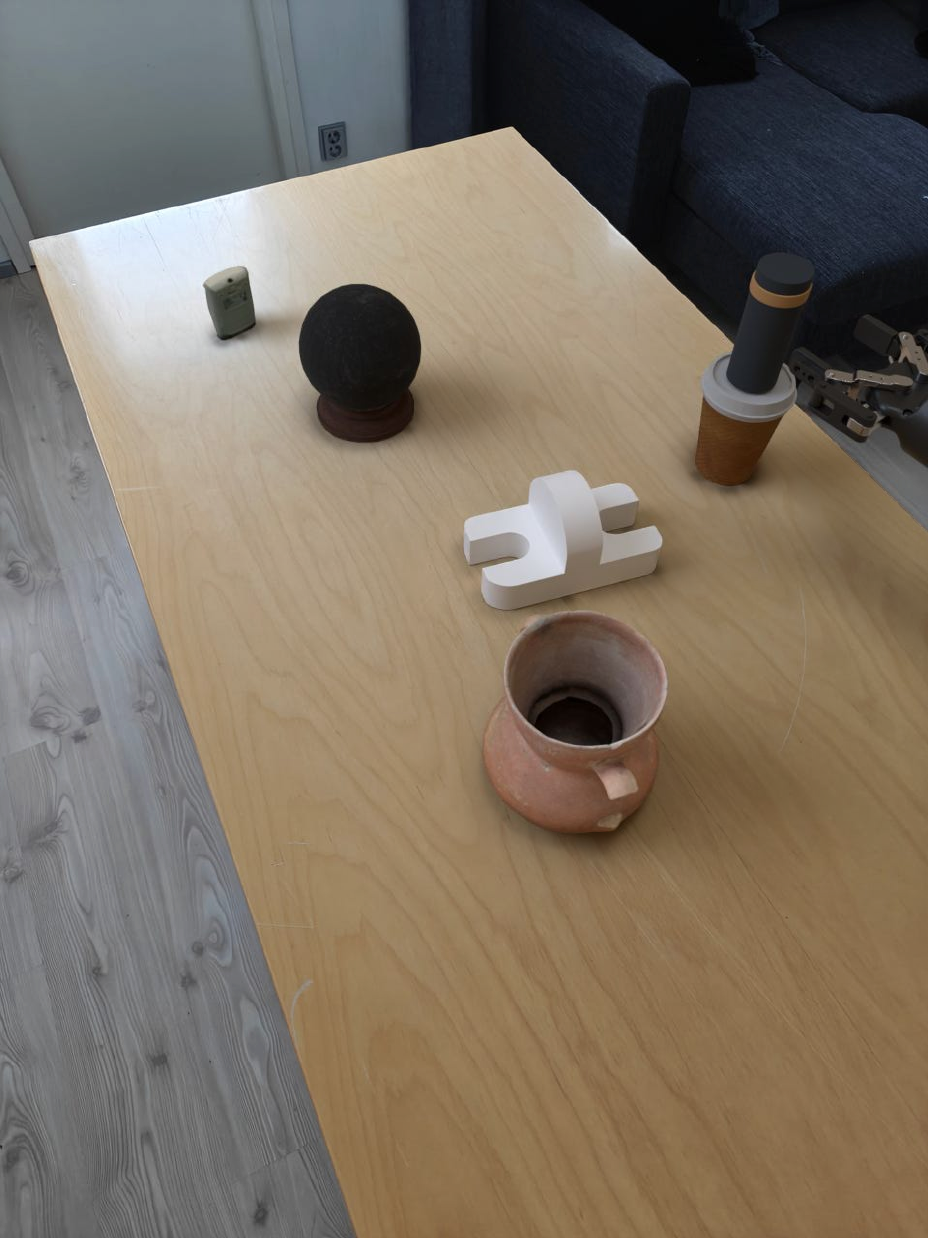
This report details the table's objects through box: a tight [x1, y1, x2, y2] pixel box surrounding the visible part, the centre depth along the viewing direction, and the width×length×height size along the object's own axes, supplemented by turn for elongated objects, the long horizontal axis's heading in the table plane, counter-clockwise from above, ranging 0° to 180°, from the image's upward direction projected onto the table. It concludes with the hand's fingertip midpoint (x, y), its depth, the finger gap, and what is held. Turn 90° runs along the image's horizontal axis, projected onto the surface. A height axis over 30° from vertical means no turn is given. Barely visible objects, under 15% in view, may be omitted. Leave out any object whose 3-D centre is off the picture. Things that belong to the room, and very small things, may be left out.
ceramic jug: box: [482, 609, 669, 834], centre depth 74 cm, size 18×14×14 cm
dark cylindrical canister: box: [726, 251, 816, 393], centre depth 87 cm, size 5×5×12 cm
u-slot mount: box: [463, 469, 663, 611], centre depth 89 cm, size 18×10×10 cm, turn 109°
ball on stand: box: [298, 283, 422, 443], centre depth 101 cm, size 13×13×15 cm
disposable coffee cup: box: [694, 350, 798, 486], centre depth 97 cm, size 10×10×12 cm
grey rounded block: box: [202, 265, 257, 341], centre depth 112 cm, size 6×5×8 cm
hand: (826, 339), depth 83 cm, fingers open, 8 cm apart
